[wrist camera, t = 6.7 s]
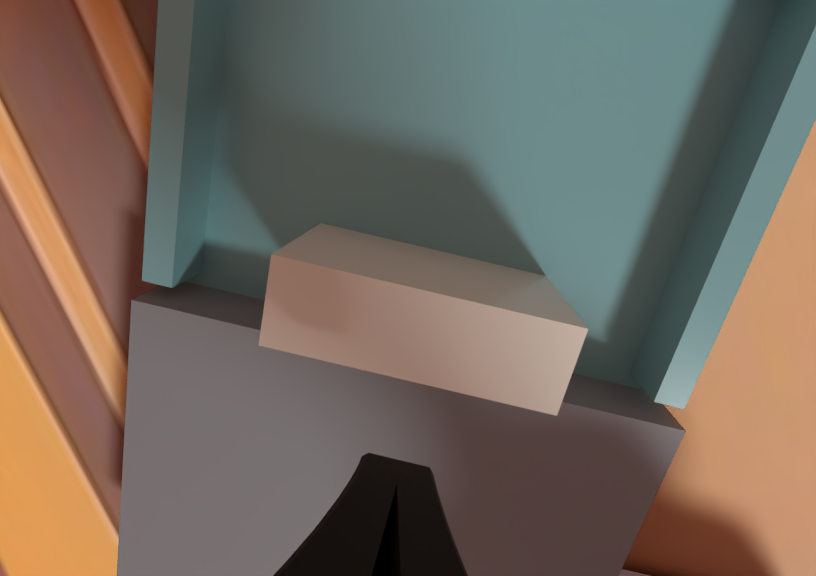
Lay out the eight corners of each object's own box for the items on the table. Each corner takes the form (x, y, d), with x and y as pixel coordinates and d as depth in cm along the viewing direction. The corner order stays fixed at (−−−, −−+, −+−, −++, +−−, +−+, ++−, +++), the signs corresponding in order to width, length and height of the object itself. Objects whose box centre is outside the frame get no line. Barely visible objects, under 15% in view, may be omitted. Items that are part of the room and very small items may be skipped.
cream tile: (525, 340, 17) (545, 276, 16) (556, 415, 12) (588, 329, 12) (309, 290, 17) (321, 223, 16) (258, 345, 12) (271, 254, 12)
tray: (823, -36, 14) (903, -75, 11) (646, 385, 18) (677, 422, 15) (219, -177, 14) (172, -245, 11) (181, 275, 18) (140, 295, 16)
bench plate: (646, 385, 18) (685, 430, 15) (548, 617, 21) (565, 690, 18) (181, 275, 18) (131, 299, 15) (159, 525, 21) (116, 583, 19)
